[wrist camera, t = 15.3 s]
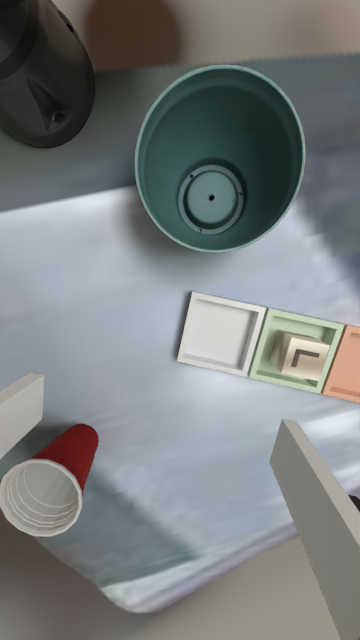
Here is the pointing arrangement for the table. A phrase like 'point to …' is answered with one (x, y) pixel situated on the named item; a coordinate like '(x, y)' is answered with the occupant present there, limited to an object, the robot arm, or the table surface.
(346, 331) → the box terracotta
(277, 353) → the letter cube
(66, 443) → the plastic cup
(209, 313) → the box grey
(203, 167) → the flower pot
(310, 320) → the box sage
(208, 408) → the table surface
